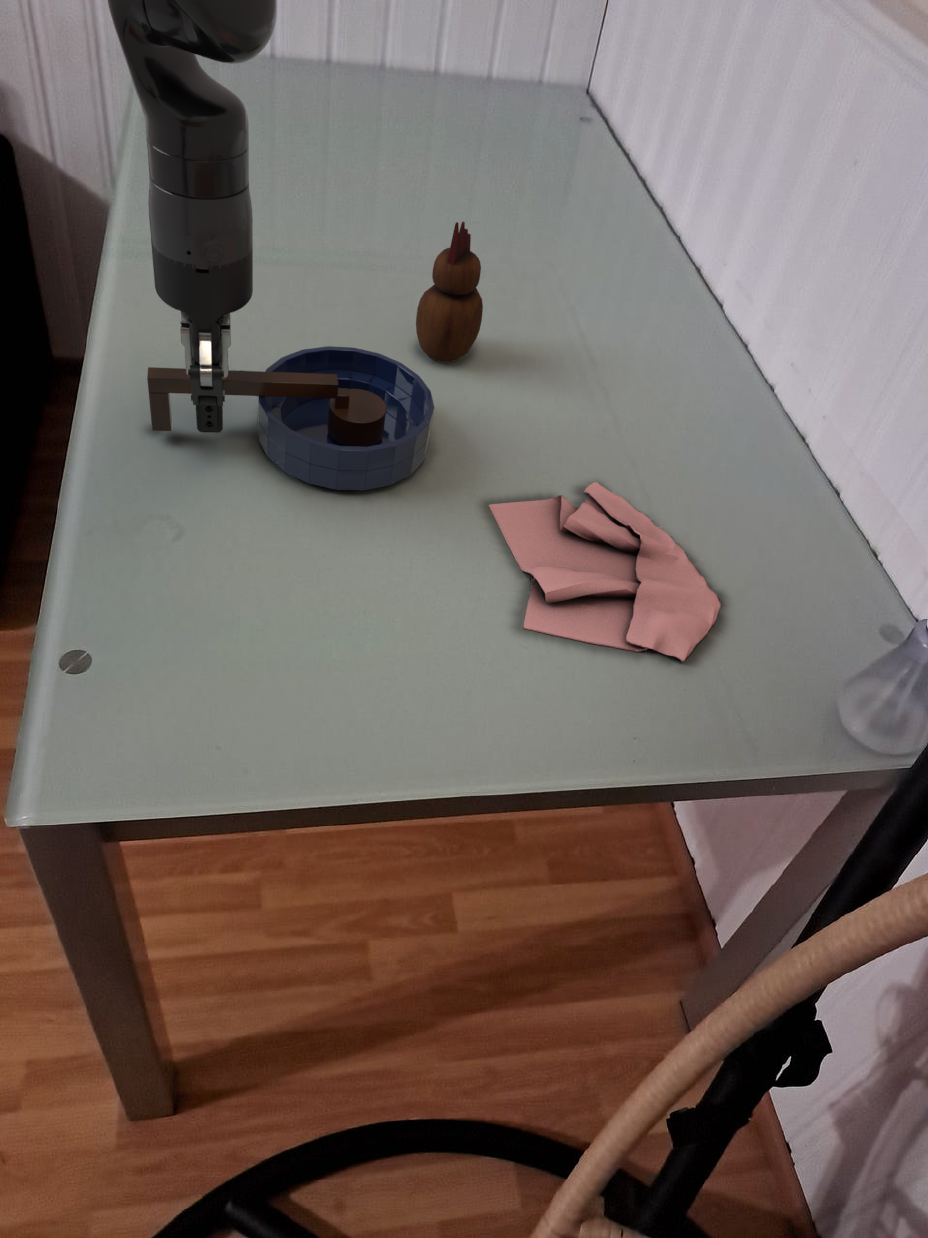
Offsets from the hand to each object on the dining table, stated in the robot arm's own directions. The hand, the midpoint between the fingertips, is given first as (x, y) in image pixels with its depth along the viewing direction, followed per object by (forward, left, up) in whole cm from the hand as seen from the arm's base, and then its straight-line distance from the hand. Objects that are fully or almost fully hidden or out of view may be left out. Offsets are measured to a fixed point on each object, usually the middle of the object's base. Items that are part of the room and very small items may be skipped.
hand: (210, 422), depth 85 cm
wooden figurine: (+27, +7, -2) cm, 29 cm away
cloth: (+26, -26, -2) cm, 37 cm away
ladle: (+5, -2, -1) cm, 5 cm away
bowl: (+12, -4, -2) cm, 12 cm away
